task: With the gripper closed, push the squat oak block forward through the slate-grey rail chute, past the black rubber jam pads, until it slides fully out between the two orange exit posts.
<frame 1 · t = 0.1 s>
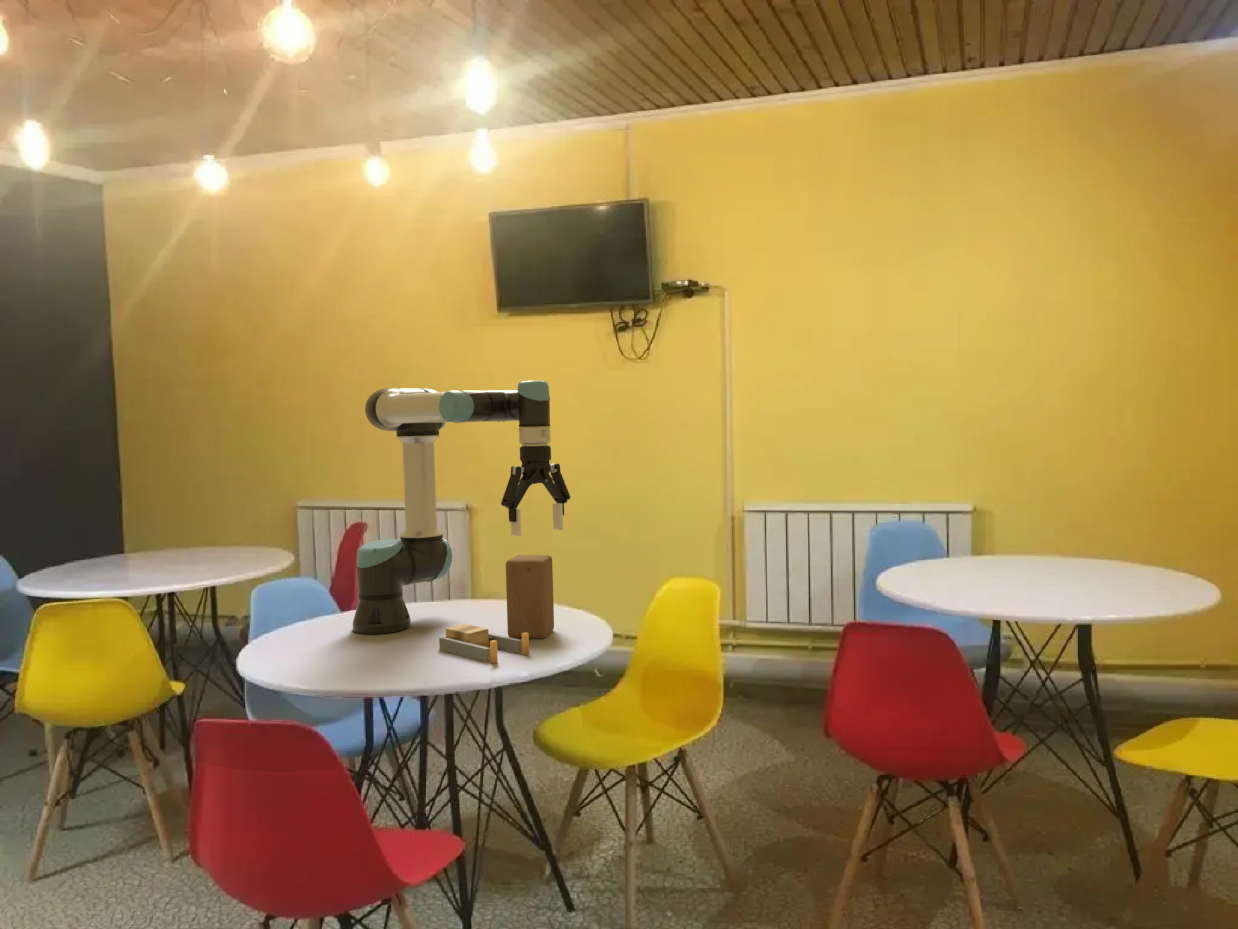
hand: (537, 532, 223), 28 cm above the table, fingers open, 13 cm apart
wooden block: (531, 635, 236), on the table
chute: (480, 651, 220), on the table
oak block: (467, 648, 224), on the table
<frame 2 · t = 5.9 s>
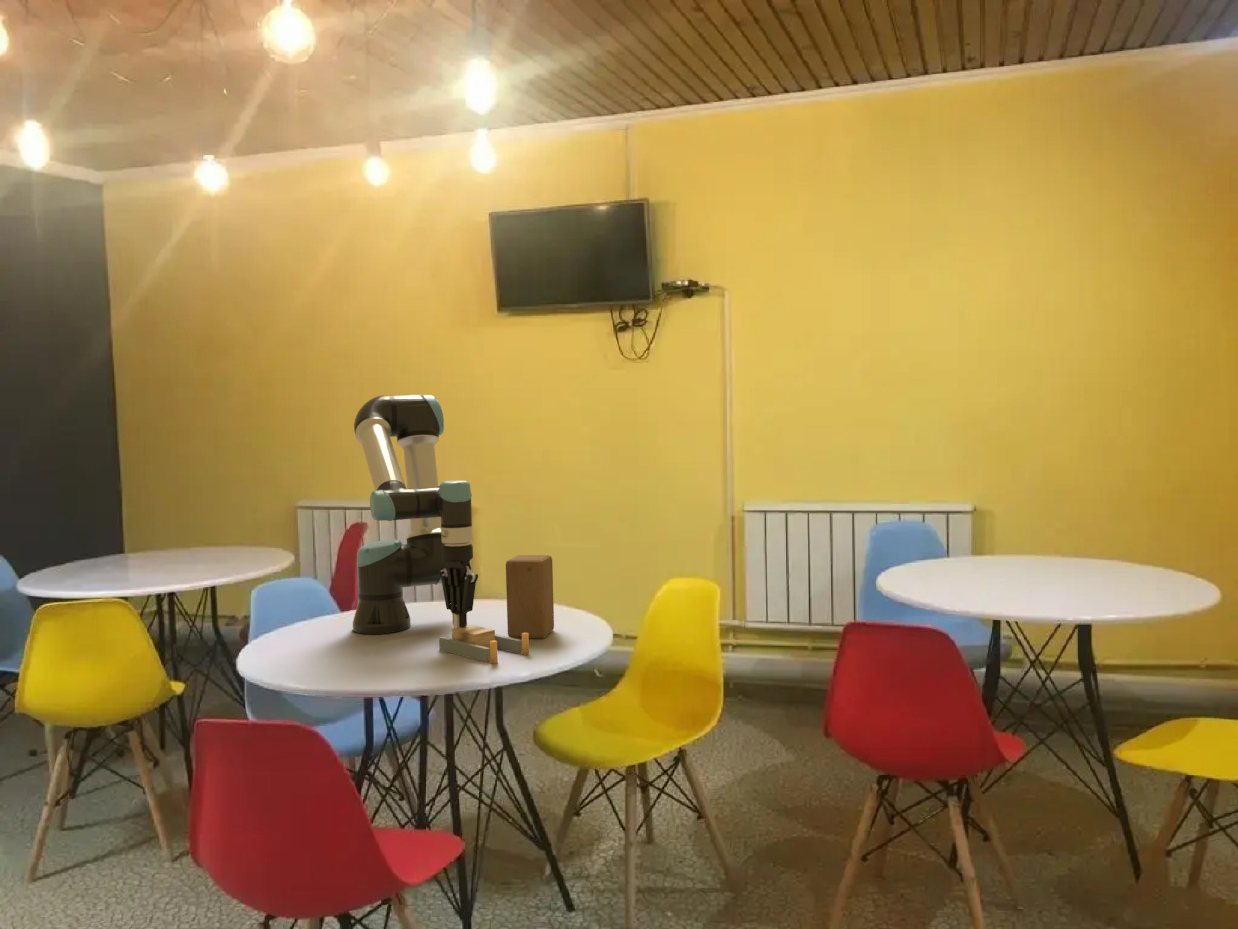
hand: (460, 639, 225), 2 cm above the table, fingers closed
oak block: (473, 650, 222), on the table, touching gripper
everything else where it was.
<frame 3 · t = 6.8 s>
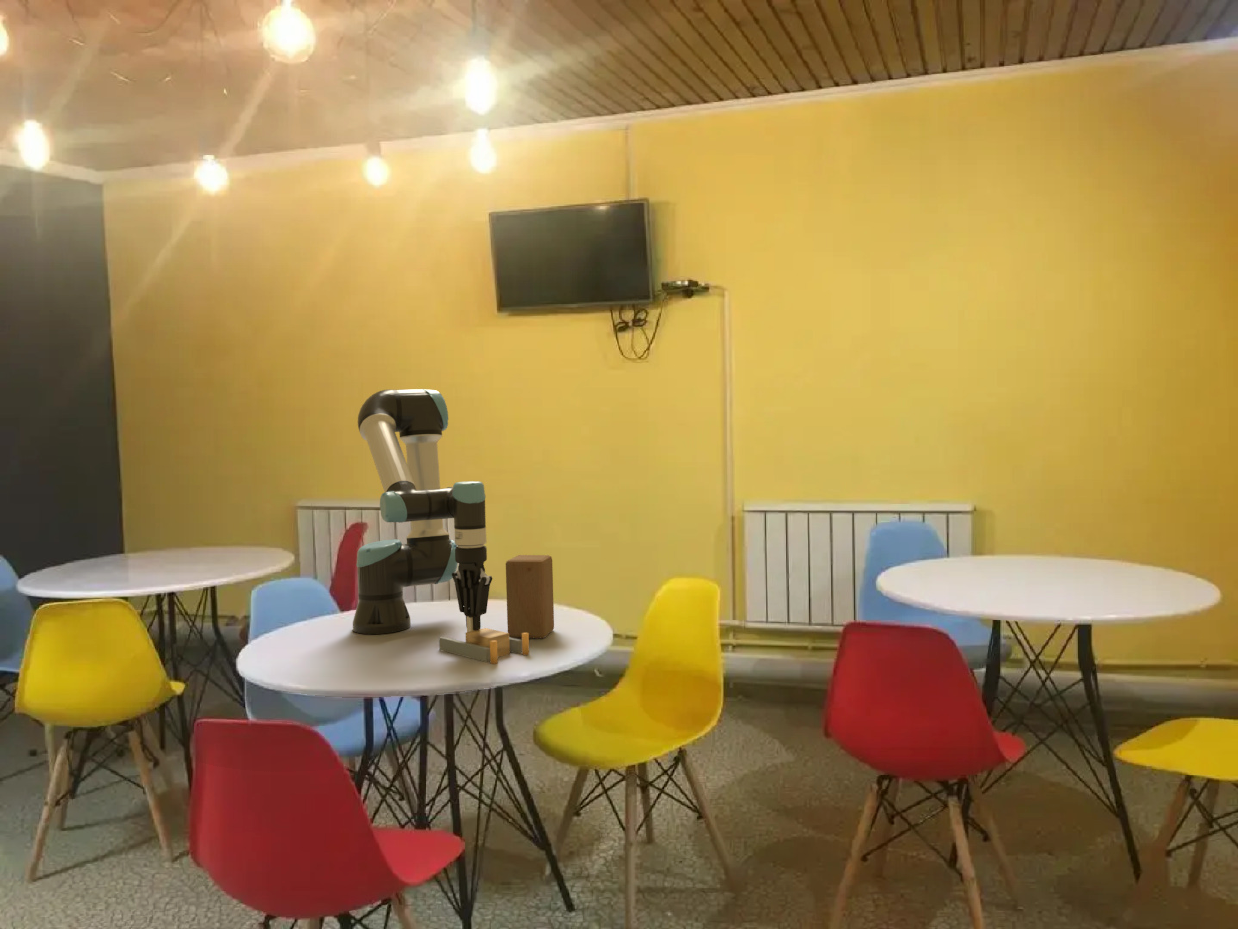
hand: (473, 642, 222), 2 cm above the table, fingers closed
oak block: (487, 653, 218), on the table, touching gripper
everything else where it was.
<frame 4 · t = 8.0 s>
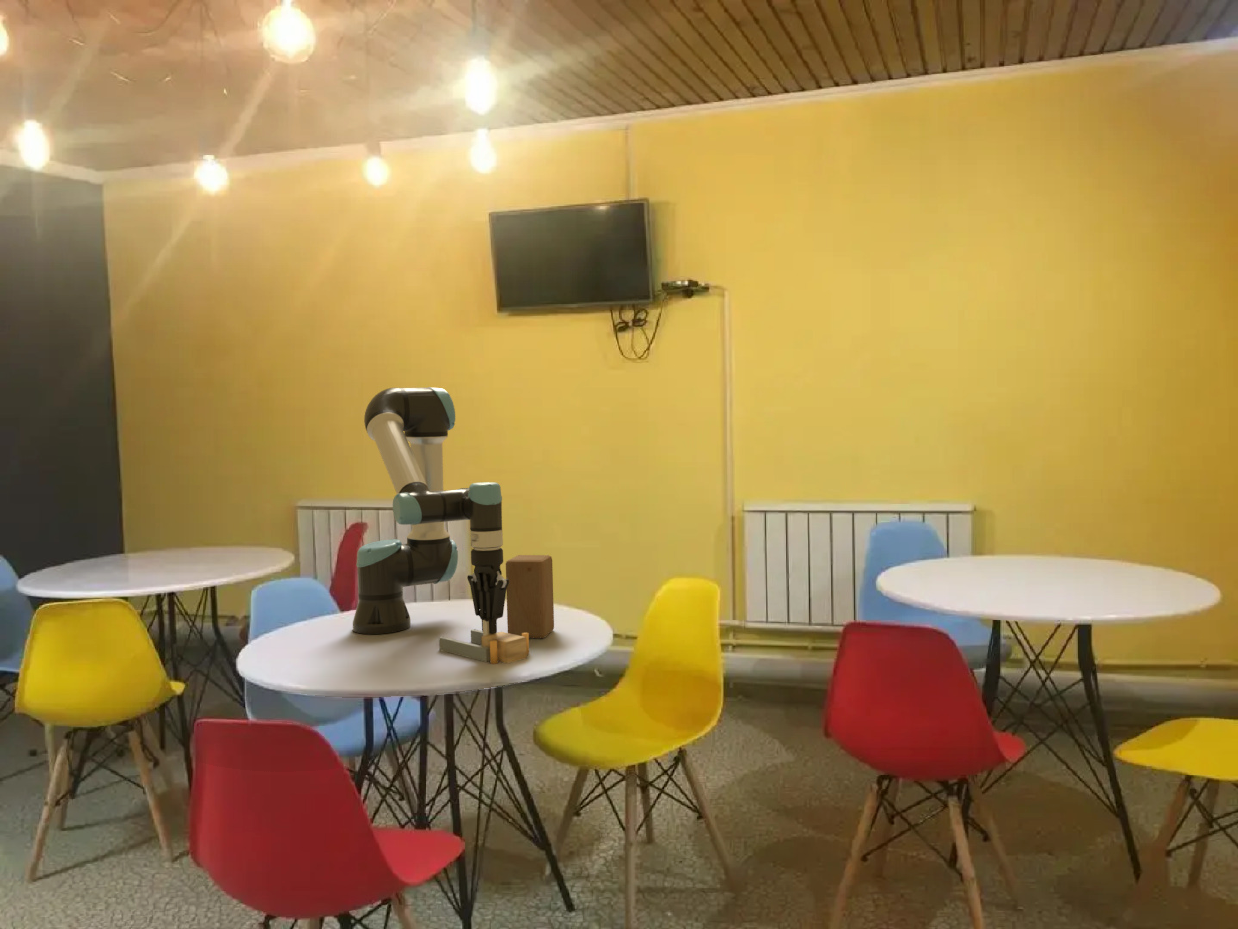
hand: (489, 646, 218), 2 cm above the table, fingers closed
oak block: (504, 657, 214), on the table, touching gripper
everything else where it was.
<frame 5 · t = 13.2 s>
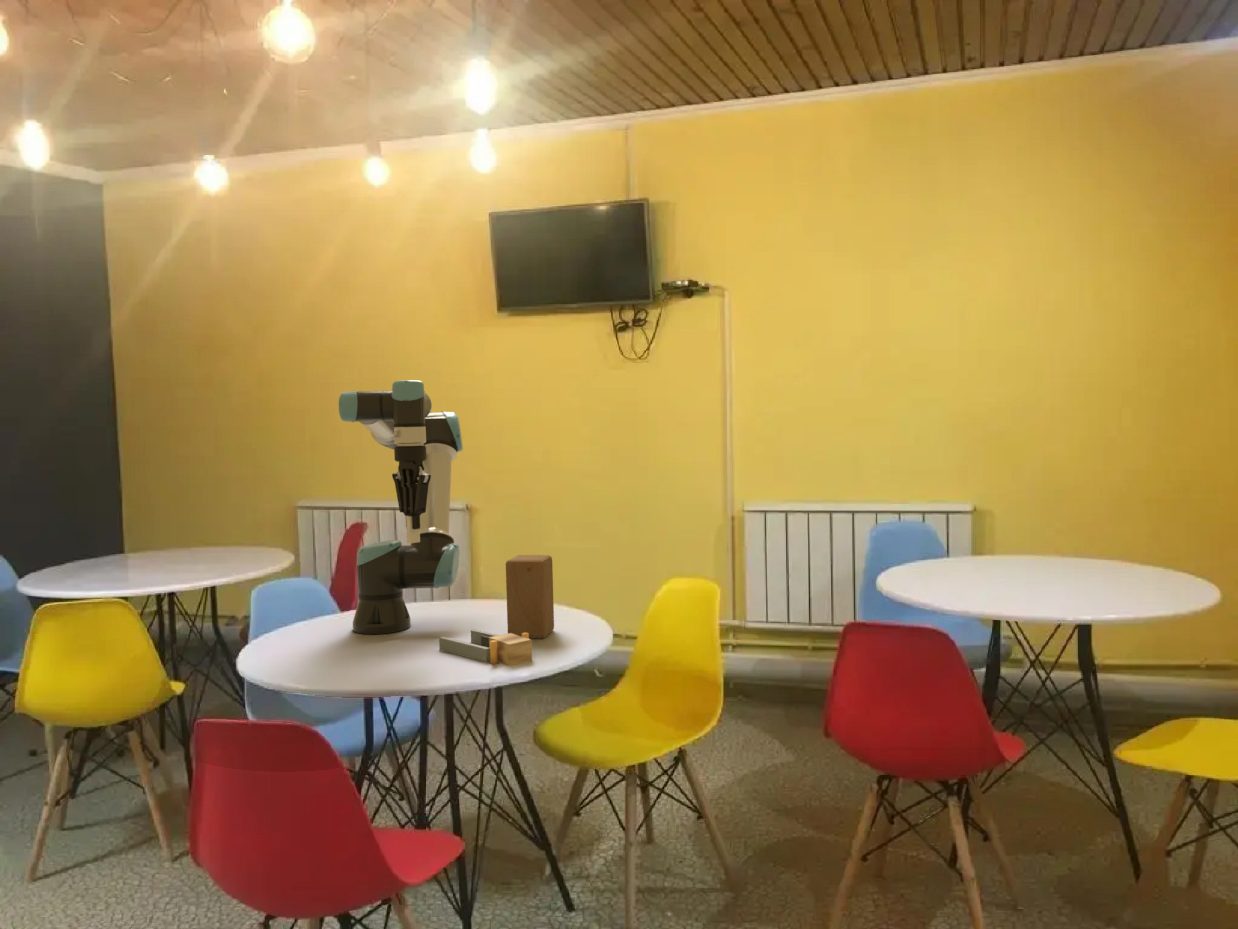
hand: (413, 542, 221), 26 cm above the table, fingers closed
oak block: (510, 659, 213), on the table
everything else where it was.
at the end: oak block inside the target area (2.7 cm from its centre), on the table; oak block tilted 0°; oak block moved 16.3 cm from its start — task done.
